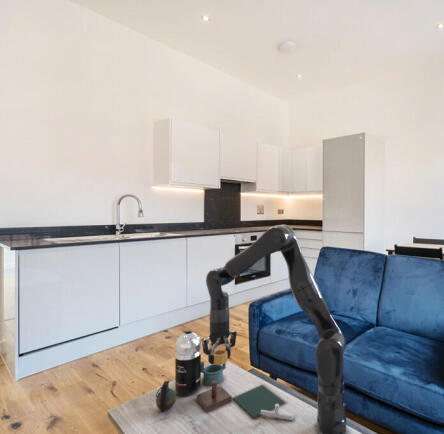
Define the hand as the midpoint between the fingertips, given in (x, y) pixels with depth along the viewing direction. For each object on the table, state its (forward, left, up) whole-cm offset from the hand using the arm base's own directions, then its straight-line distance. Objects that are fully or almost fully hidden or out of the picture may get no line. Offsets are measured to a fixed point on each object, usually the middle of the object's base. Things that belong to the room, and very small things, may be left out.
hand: (219, 360), depth 121 cm
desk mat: (-10, -11, -16) cm, 22 cm away
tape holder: (+2, +2, -16) cm, 16 cm away
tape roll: (0, 0, 0) cm, 0 cm away
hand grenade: (+9, +18, -16) cm, 25 cm away
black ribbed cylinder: (+16, +7, -16) cm, 23 cm away
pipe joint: (-23, -11, -16) cm, 30 cm away
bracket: (+16, -4, -16) cm, 23 cm away
